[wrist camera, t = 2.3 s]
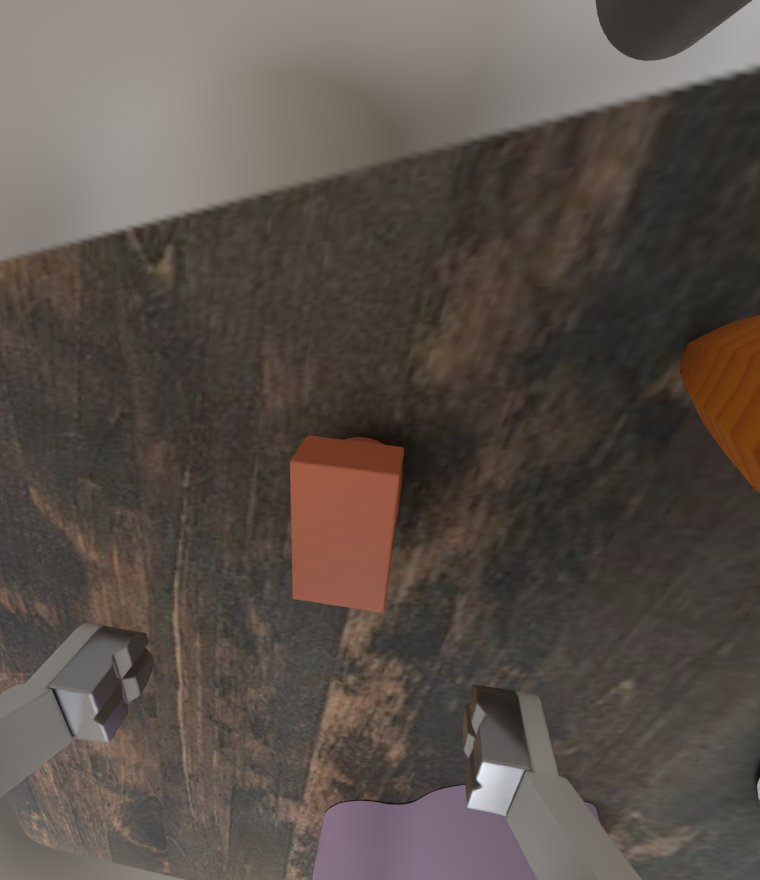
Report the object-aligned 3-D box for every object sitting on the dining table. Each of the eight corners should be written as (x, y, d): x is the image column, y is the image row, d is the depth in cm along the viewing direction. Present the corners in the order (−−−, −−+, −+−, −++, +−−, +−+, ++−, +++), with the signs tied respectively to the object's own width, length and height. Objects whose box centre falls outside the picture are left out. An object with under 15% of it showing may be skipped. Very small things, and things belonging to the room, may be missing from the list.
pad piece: (324, 405, 17) (287, 460, 13) (410, 416, 17) (402, 475, 13) (321, 521, 20) (290, 599, 16) (395, 532, 20) (385, 613, 15)
